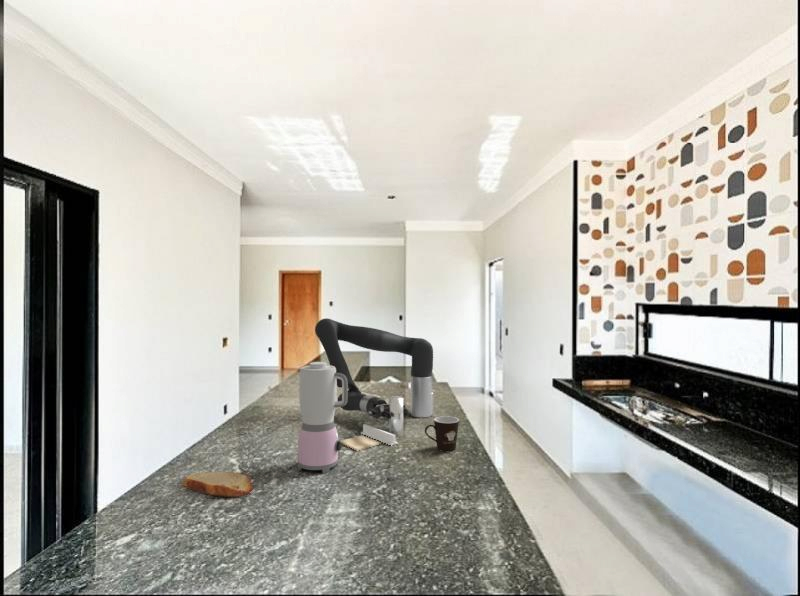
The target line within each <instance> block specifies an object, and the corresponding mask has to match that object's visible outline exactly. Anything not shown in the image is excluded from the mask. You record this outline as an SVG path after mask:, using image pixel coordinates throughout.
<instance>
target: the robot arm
mask: <svg viewBox="0 0 800 596" xmlns="http://www.w3.org/2000/svg"><path fill="white" fill-rule="evenodd" d="M314 332H315V336H316V337H317V338H318V340H319V342H320V344H321V345H322V347H323V349H324V352H325V354H326V356H327V361H328V364H329V365H331V366H334V367H335V368H336V373H341V374H343V375H345V376H346V378H347V381H348V400H347V404H346V405H345V406H342V407H340V408H341V409H342V410H344V411H349V412H353V411H359V412H361V413H364V414H366V415H368V416H370V417H373V418H376V419H379V418H381V419H383V418H384V419H388V420H390V419H391V413H390V403H387V401H386V400H385V399H384V398H381V397H377V396H374V395H369V394H364V393H362V392H361V390H360V389H359V387H358V386H357V385H356V383H355V382H354V380H353V378H352V376H351V372H350V369H349V367H348V364H347V362H346V359H345V357H344V355H343V353H342V350H341V348H340V345H339V344H340V343H339V341H341V342H346V343H349V344H352V345H355V346H358V347H360V348H363V349H367V350H371V351H376V352H387V353H388V352H389V353H400V354H404V355H406V356H407V355H408V356H411V367H410V414H409V409H408V408H406V405H404V404H403V416H408V415H411V416H412V417H415V418H428V417H432V416H433V415H434V392H433V370H434V369H433V367H434V348H433V345H432V343H431V342H430V341H429V340H427V339H425V338H419V337H409V336H402V335H398V334H396V333H393V332H389V331H386V330H382V329H378V328H374V327H367V326H358V325H349V324H345V323H343V322H339V321H337V320H333V319H331V318H322V319H320V320H319V321H318V322H317V323H316V325H315V327H314ZM336 380H337V388H339V389H340V388H341V389H342V380H341V379H336ZM338 401H342V393H340V394H339V395H338V397H337V402H338ZM411 416H410V417H411Z"/></svg>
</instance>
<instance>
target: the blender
mask: <svg viewBox="0 0 800 596" xmlns="http://www.w3.org/2000/svg"><path fill="white" fill-rule="evenodd" d="M336 379H341V380H342V387H341V391H342V392H341V394H342V401H338V397H337V396H338V394H337V393H338V392H337V390H338V386H337V380H336ZM298 383H299V386H298V388H299V408H300V412H301V413H300V414H301V418H302V420H301V421H302V424H301V427H300V429H299V432H298V436H297V455H298V459H297V467H298V470H299V471H302V469H303V470H307V471H321V473H322V474H326V473H329V472H330V469H331V468H333V467H335V466H338V464H339V451H341V450H342V447H343V445H342V443H341V442H340V441H341V440H339V434H338V429H337V427H336V424H335V421H334V420H335V413H336V408H341V407H342V406H345V405H346V404H347V400H348V381H347V378H346V376H345V375H343V374H341V373H336V368H335V367H334V366H331V365H330V364H329V365H328V364H327V362H326V361H314V362H310V363H309V365H305V366H301V367H299V382H298Z"/></svg>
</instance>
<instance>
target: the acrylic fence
mask: <svg viewBox="0 0 800 596" xmlns="http://www.w3.org/2000/svg"><path fill="white" fill-rule="evenodd" d="M362 434H363V435H362ZM360 435H362V436H364V435H366V436H365V437H367V436H368V437H367V438H369V437H371V438H370V439H372V438H373V439H372V440H374V439H376V440H375V441H377V440H379V441H381V442H380V443H382V442H383V443H382V444H384V443H386V444H385V445H387V444H388V445H387V446H389V445H391V446H390V447H393V446H392V445H394V446H396V445H395V444H399V442H398V441H397V439H396V438H397V437H396V435H394V434H391V433H390V432H388V431H385V430H383V429H380V428H377V427H374V426H372V425H369V424H366V423H364V424H362V431H360ZM379 441H378V442H379Z"/></svg>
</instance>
